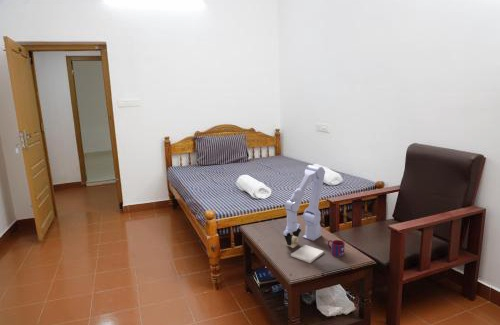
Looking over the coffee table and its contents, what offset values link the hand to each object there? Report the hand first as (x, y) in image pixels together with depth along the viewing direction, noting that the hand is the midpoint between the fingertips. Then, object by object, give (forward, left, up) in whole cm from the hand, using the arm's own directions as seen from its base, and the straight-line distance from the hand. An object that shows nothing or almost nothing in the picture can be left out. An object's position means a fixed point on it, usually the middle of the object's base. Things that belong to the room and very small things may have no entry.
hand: (292, 242), depth 195 cm
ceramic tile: (+4, +13, -1) cm, 14 cm away
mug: (-7, +24, -2) cm, 25 cm away
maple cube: (0, 0, -2) cm, 2 cm away
